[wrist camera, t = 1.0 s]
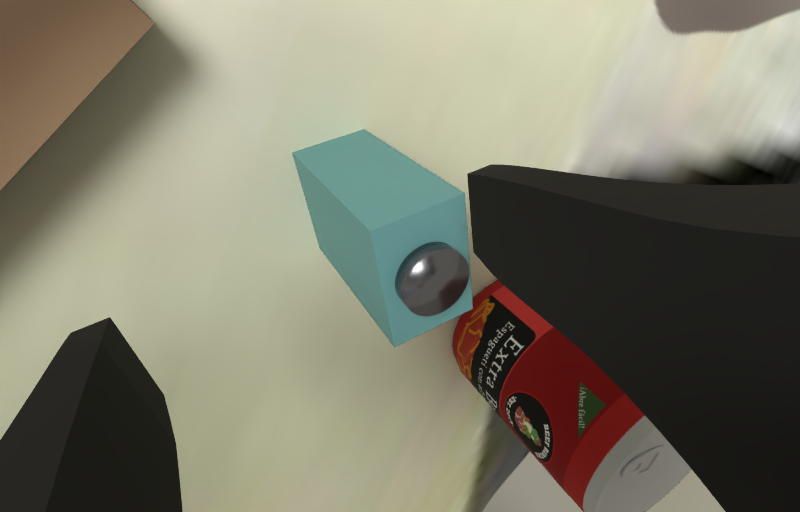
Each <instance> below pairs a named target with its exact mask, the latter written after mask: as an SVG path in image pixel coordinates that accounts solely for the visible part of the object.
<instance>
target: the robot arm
mask: <svg viewBox="0 0 800 512" xmlns="http://www.w3.org/2000/svg"><path fill="white" fill-rule="evenodd" d="M467 175H468V188H469V200H470V213H471V226H472V238H473V251H474V253H475V254H476V255H477V257H478V258H479V259H480V260H481V261H482V262H483V264H484V265H485V266H486V267H487V268H488V269H489V270H490V272H491V273H492V274H493V275H494V276H495V277H496V278H497V279H498V280H499V281H500V282H501V283H502V284H503V285H504V286H505V287H506V288H507V289H509V290H510V291H511V292H512V293H513V294H514V295H516V296H517V297H518V298H519V299H520V300H522V301H523V302H524V303H525V304H526V305H528V306H529V307H530V308H531V309H532V310H534V311H535V312H536V313H537V314H538V315H540V316H541V317H542V318H543V319H545V320H546V321H547V322H548V323H549V324H551V325H552V326H553V327H554V328H555V329H557V330H558V331H559V332H560V333H561V334H563V335H564V336H565V337H566V338H568V339H569V340H570V341H571V342H572V343H574V344H575V345H576V346H577V347H578V348H579V349H580V350H582V351H583V352H584V353H585V354H586V355H587V356H588V357H589V358H590V359H591V360H593V361H594V363H595V364H596V365H597V366H598V367H599V368H600V369H601V370H602V371H603V372H604V373H605V374H606V375H607V376H608V377H609V378H610V379H611V380H612V381H613V382H614V383H615V384H616V385H617V386H618V387H619V388H620V389H621V390H622V391H623V392H624V393H625V394H626V395H627V396H628V398H629V399H630V400H631V401H632V402H633V403H634V404H635V405H636V406H637V407H638V408H639V410H640V411H641V412H642V413H643V414H644V415H645V416H646V417H647V418H648V419H649V420H650V422H651V423H652V424H653V425H654V426H655V427H656V428H657V429H658V430H659V431H660V433H661V434H662V435H663V436H664V437H665V438H666V440H667V441H668V442H669V443H670V444H671V445H672V447H673V448H674V449H675V450H676V451H677V453H678V454H679V455H680V456H681V457H682V458H683V460H684V461H685V462H686V463H687V464H688V465H689V467H690V468H691V469H692V470H693V471H694V472H695V474H696V475H697V476H698V477H699V478H700V479H701V481H702V482H703V484H704V485H705V486H706V487H707V488H708V490H709V491H710V492H711V494H712V495H713V496H714V497H715V499H716V500H717V501H718V502H719V504H720V505H721V506H722V508H723V509H724V510H725V511H726V512H800V183H798V184H772V185H693V184H669V183H654V182H643V181H632V180H622V179H613V178H604V177H596V176H588V175H581V174H574V173H566V172H559V171H552V170H545V169H538V168H530V167H521V166H512V165H489V166H486V167H484V168H481V169H479V170H476V171H474V172H471V173H469V174H467ZM0 512H182V501H181V490H180V479H179V469H178V459H177V449H176V442H175V438H174V434H173V429H172V425H171V421H170V417H169V413H168V409H167V405H166V401H165V397H164V394H163V393H162V392H161V390H160V389H159V387H158V386H157V384H156V383H155V381H154V380H153V379H152V377H151V376H150V374H149V373H148V371H147V370H146V368H145V367H144V366H143V364H142V363H141V361H140V360H139V358H138V357H137V355H136V354H135V353H134V351H133V350H132V348H131V347H130V345H129V344H128V342H127V341H126V340H125V338H124V337H123V335H122V334H121V332H120V331H119V329H118V328H117V327H116V325H115V324H114V322H113V321H112V319H111V318H110V317H109V318H107V319H104V320H102V321H99V322H97V323H94V324H92V325H89V326H87V327H84V328H82V329H79V330H77V331H74V332H72V333H70V335H69V336H68V337H67V339H66V340H65V342H64V343H63V344H62V346H61V347H60V349H59V350H58V352H57V353H56V355H55V357H54V358H53V360H52V361H51V363H50V364H49V366H48V368H47V369H46V371H45V372H44V374H43V375H42V377H41V379H40V380H39V382H38V383H37V385H36V387H35V388H34V390H33V391H32V393H31V394H30V396H29V397H28V399H27V400H26V402H25V403H24V405H23V407H22V408H21V410H20V411H19V413H18V414H17V416H16V417H15V419H14V420H13V422H12V423H11V425H10V427H9V428H8V430H7V431H6V433H5V434H4V436H3V437H2V439H1V440H0Z"/></svg>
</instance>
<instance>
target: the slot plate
mask: <svg viewBox="0 0 800 512" xmlns="http://www.w3.org/2000/svg"><path fill="white" fill-rule="evenodd" d="M153 24H154V22H153V21H152V20H151V19H150V17H149V16H148V15H147V14H145V13H144V12H143V11H142V10H141V9H140V8H139V7H138V6H137V5H136V4H135V3H134V2H133V1H131V0H0V190H1V189H2V188H3V187H4V186H5V185H6V184H7V183H8V182H9V180H10V179H11V178H12V177H13V176H14V175H15V174H16V173H17V172H18V171H19V170H20V168H21V167H22V166H23V165H24V164H25V163H26V162H27V161H28V160H29V159H30V158H31V157H32V155H33V154H34V153H35V152H36V151H37V150H38V149H39V148H40V147H41V146H42V145H43V144H44V142H45V141H46V140H47V139H48V138H49V137H50V136H51V135H52V134H53V133H54V132H55V131H56V129H57V128H58V127H59V126H60V125H61V124H62V123H63V122H64V121H65V120H66V119H67V118H68V116H69V115H70V114H71V113H72V112H73V111H74V110H75V109H76V108H77V107H78V106H79V104H80V103H81V102H82V101H83V100H84V99H85V98H86V97H87V96H88V95H89V94H90V93H91V91H92V90H93V89H94V88H95V87H96V86H97V85H98V84H99V83H100V82H101V81H102V80H103V78H104V77H105V76H106V75H107V74H108V73H109V72H110V71H111V70H112V69H113V68H114V67H115V65H116V64H117V63H118V62H119V61H120V60H121V59H122V58H123V57H124V56H125V55H126V54H127V52H128V51H129V50H130V49H131V48H132V47H133V46H134V45H135V44H136V43H137V42H138V40H139V39H140V38H141V37H142V36H143V35H144V34H145V33H146V32H147V31H148V30H149V29H150V27H151V26H152V25H153Z"/></svg>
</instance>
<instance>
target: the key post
mask: <svg viewBox="0 0 800 512" xmlns="http://www.w3.org/2000/svg"><path fill="white" fill-rule="evenodd" d="M292 154H293V157H294V161H295V164H296V168H297V171H298V175H299V178H300V182H301V185H302V188H303V192H304V195H305V199H306V202H307V206H308V209H309V213H310V216H311V220H312V223H313V226H314V230H315V233H316V237H317V240H318V244H319V247H320V249H321V251H322V252H323V253H324V255H325V256H326V257H327V259H328V260H329V261H330V263H331V264H332V265H333V267H334V268H335V269H336V270H337V272H338V273H339V274H340V276H341V277H342V278H343V280H344V281H345V282H346V284H347V285H348V286H349V288H350V289H351V290H352V292H353V293H354V294H355V296H356V297H357V298H358V300H359V301H360V302H361V304H362V305H363V306H364V308H365V309H366V310H367V312H368V313H369V314H370V316H371V317H372V318H373V320H374V321H375V322H376V323H377V325H378V326H379V327H380V329H381V330H382V331H383V333H384V334H385V335H386V337H387V338H388V339H389V341H390V342H391V343H392V345H393V346H394V347H396V346H398V345H400V344H402V343H404V342H406V341H408V340H410V339H412V338H414V337H416V336H418V335H420V334H422V333H424V332H427V331H429V330H431V329H433V328H435V327H437V326H439V325H441V324H443V323H445V322H447V321H449V320H451V319H453V318H455V317H457V316H459V315H461V314H463V313H465V312H467V311H469V310H471V309H473V304H472V290H471V275H470V261H469V247H468V233H467V219H466V205H465V193H464V192H462V191H460V190H459V189H457V188H456V187H454V186H452V185H451V184H449V183H448V182H446V181H445V180H443V179H441V178H440V177H438V176H437V175H435V174H434V173H432V172H430V171H429V170H427V169H426V168H424V167H423V166H421V165H419V164H418V163H416V162H415V161H413V160H412V159H410V158H408V157H407V156H405V155H404V154H402V153H400V152H399V151H397V150H396V149H394V148H393V147H391V146H389V145H388V144H386V143H385V142H383V141H382V140H380V139H378V138H377V137H375V136H374V135H372V134H371V133H369V132H367V131H366V130H361V131H357V132H354V133H351V134H348V135H345V136H342V137H339V138H336V139H333V140H330V141H327V142H323V143H320V144H317V145H314V146H311V147H308V148H305V149H302V150H299V151H296V152H293V153H292Z"/></svg>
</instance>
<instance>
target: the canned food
mask: <svg viewBox="0 0 800 512" xmlns="http://www.w3.org/2000/svg"><path fill="white" fill-rule="evenodd" d="M472 304H473V309H471V310H469V311H467V312H465V313H463V314H462V316H461V318H460V320H459V322H458V324H457V326H456V329H455V333H454V336H453V351H454V356H455V358H456V361H457V363H458V365H459V368H460V370H461V372H462V373H463V374H464V375H465V376H466V378H467V379H468V380H469V381H470V382H471V383H472V385H473V386H474V387H475V388H476V389H477V390H478V391H479V393H480V394H481V395H482V396H483V397H484V398H485V400H486V401H487V402H488V403H489V404H490V405H491V407H492V408H493V409H494V410H495V411H496V412H497V413H498V415H499V416H500V417H501V418H502V419H503V420H504V422H505V423H506V424H507V425H508V426H509V427H510V428H511V430H512V431H513V432H514V433H515V434H516V435H517V437H518V438H519V439H520V440H521V441H522V442H523V443H524V445H525V446H526V447H527V448H528V449H529V450H530V452H531V453H532V454H533V455H534V456H535V457H536V459H537V460H538V461H539V462H540V463H541V464H542V465H543V467H544V468H545V469H546V470H547V471H548V472H549V473H550V475H551V476H552V477H553V478H554V479H555V480H556V481H557V483H558V484H559V485H560V486H561V487H562V488H563V490H564V491H565V492H566V493H567V494H568V495H569V496H570V497H571V498H572V499H573V500H574V502H575V503H576V504H577V505H578V506H579V507H580V508H581V510H582V511H583V512H646V511H647V510H648V509H650V508H651V507H652V506H654V505H655V504H656V503H658V502H659V501H660V500H661V499H662V498H663V497H665V495H667V494H668V493H669V492H670V491H671V490H672V489H673V488H674V487H675V486H677V485H678V484H679V483H680V481H681V480H682V479H683V478H684V477H685V476H686V475H687V474H688V473H689V472H690V471H691V468H690V467H689V465H688V464H687V463H686V462H685V461H684V460H683V458H682V457H681V456H680V455H679V454H678V453H677V451H676V450H675V449H674V448H673V447H672V445H671V444H670V443H669V442H668V441H667V440H666V438H665V437H664V436H663V435H662V434H661V433H660V431H659V430H658V429H657V428H656V427H655V426H654V425H653V424H652V423H651V422H650V420H649V419H648V418H647V417H646V416H645V415H644V414H643V413H642V412H641V411H640V410H639V408H638V407H637V406H636V405H635V404H634V403H633V402H632V401H631V400H630V399H629V398H628V396H627V395H626V394H625V393H624V392H623V391H622V390H621V389H620V388H619V387H618V386H617V385H616V384H615V383H614V382H613V381H612V380H611V379H610V378H609V377H608V376H607V375H606V374H605V373H604V372H603V371H602V370H601V369H600V368H599V367H598V366H597V365H596V364H595V363H594V361H593V360H591V359H590V358H589V357H588V356H587V355H586V354H585V353H584V352H583V351H582V350H580V349H579V348H578V347H577V346H576V345H575V344H574V343H572V342H571V341H570V340H569V339H568V338H566V337H565V336H564V335H563V334H561V333H560V332H559V331H558V330H557V329H555V328H554V327H553V326H552V325H551V324H549V323H548V322H547V321H546V320H545V319H543V318H542V317H541V316H540V315H538V314H537V313H536V312H535V311H534V310H532V309H531V308H530V307H529V306H528V305H526V304H525V303H524V302H523V301H522V300H520V299H519V298H518V297H517V296H516V295H514V294H513V293H512V292H511V291H510V290H509V289H507V288H506V287H505V286H504V285H503V284H502V283H501V282H500V281H499V280H497V281H495V282H494V283H492V284H491V285H489V286H488V287H486V288H485V289H484V290H483V291H482V292H481V293H479V294H478V295H477V296H476V297H475V298H474V300H473V301H472Z"/></svg>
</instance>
